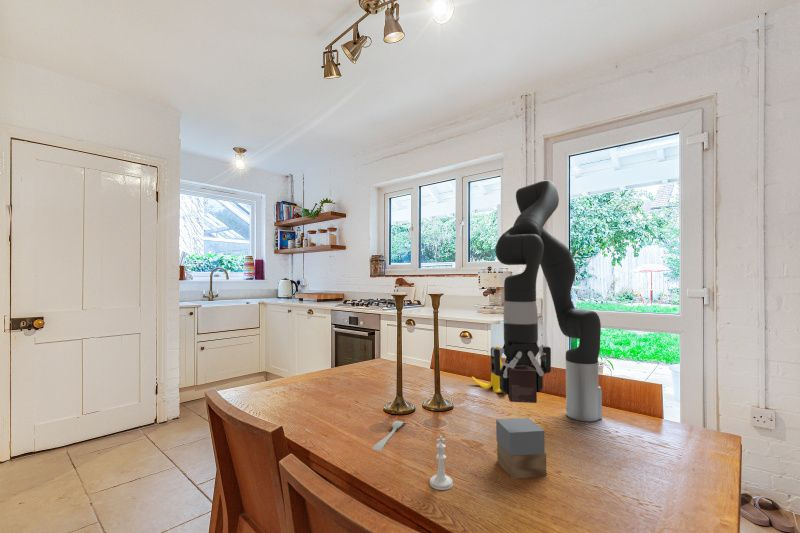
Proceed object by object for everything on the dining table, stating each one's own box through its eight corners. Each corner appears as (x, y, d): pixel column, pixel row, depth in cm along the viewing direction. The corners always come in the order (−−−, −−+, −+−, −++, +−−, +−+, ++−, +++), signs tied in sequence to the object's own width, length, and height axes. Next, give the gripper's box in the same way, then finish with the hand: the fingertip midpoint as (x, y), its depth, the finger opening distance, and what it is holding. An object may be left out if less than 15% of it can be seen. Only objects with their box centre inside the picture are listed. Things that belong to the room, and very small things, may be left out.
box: (537, 404, 86) (536, 370, 86) (508, 402, 87) (508, 369, 87) (533, 395, 92) (532, 364, 92) (506, 394, 93) (506, 363, 93)
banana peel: (519, 385, 157) (519, 343, 157) (505, 398, 141) (505, 351, 141) (480, 379, 166) (480, 340, 166) (463, 391, 150) (462, 347, 150)
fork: (370, 459, 99) (369, 449, 99) (400, 422, 119) (400, 413, 118) (380, 461, 98) (379, 451, 98) (409, 423, 117) (409, 414, 117)
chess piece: (427, 478, 85) (427, 432, 85) (450, 477, 85) (449, 431, 86) (431, 490, 80) (431, 441, 80) (455, 489, 80) (454, 440, 81)
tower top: (528, 438, 94) (528, 417, 94) (544, 453, 86) (544, 430, 86) (496, 440, 93) (496, 419, 93) (510, 456, 85) (509, 432, 85)
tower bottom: (528, 459, 94) (528, 438, 94) (546, 476, 86) (546, 453, 86) (497, 462, 92) (497, 440, 93) (512, 479, 85) (512, 456, 85)
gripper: (540, 318, 95) (541, 386, 94) (484, 319, 92) (485, 389, 92) (558, 321, 87) (559, 395, 87) (497, 323, 85) (498, 399, 85)
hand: (521, 392), depth 89 cm, fingers closed on box, 7 cm apart
